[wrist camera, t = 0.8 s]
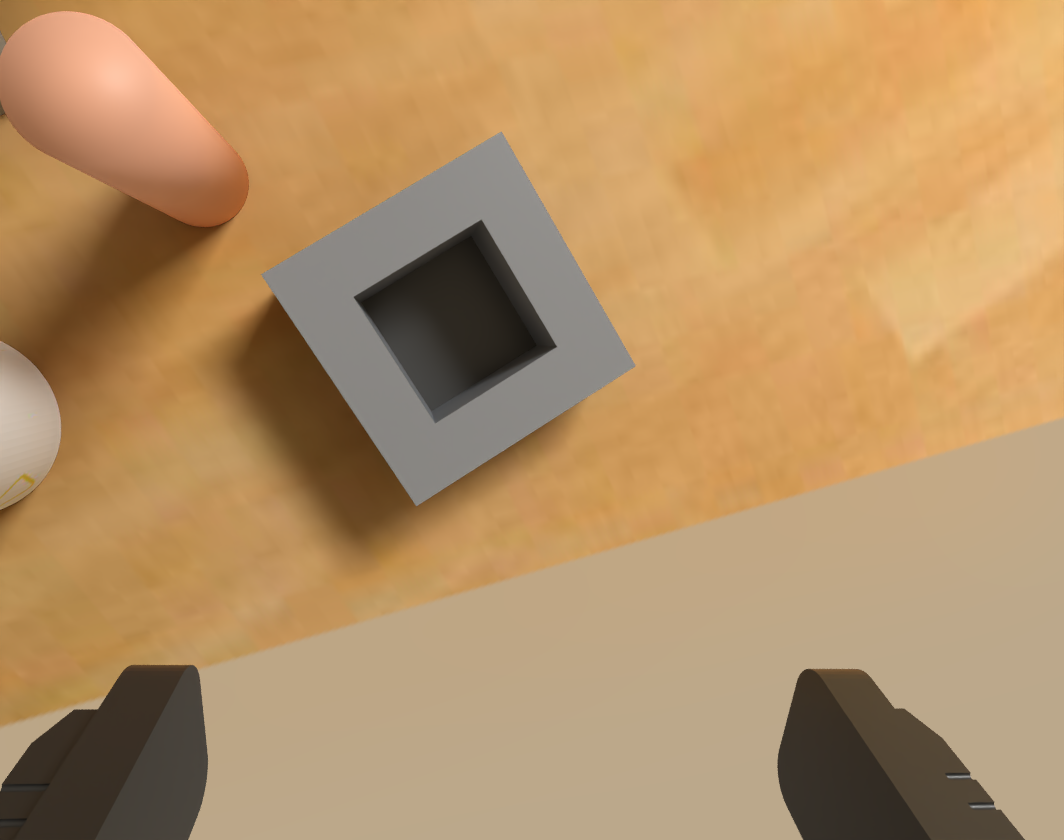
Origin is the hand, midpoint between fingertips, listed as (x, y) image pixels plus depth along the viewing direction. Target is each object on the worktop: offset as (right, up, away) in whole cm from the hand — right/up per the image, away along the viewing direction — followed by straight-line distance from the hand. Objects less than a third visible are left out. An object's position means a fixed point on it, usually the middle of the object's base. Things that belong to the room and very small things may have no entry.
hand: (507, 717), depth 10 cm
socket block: (-4, +9, +24) cm, 26 cm away
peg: (-14, +15, +22) cm, 30 cm away
